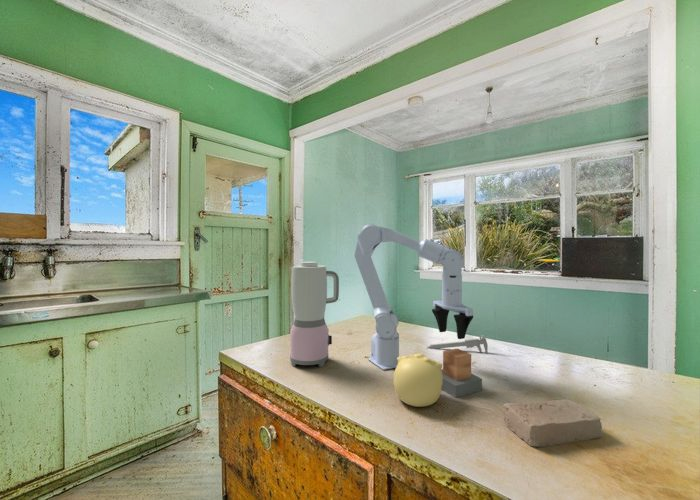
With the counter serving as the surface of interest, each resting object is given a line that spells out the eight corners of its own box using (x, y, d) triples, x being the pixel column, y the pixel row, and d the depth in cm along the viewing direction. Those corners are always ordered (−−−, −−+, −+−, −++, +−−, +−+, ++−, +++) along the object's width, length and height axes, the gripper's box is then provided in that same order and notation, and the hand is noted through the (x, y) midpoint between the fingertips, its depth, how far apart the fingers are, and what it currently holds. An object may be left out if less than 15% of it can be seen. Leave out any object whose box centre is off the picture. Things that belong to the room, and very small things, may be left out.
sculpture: (445, 393, 79) (445, 351, 78) (437, 417, 68) (438, 368, 67) (400, 385, 83) (400, 345, 83) (387, 406, 72) (387, 360, 72)
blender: (287, 369, 93) (286, 263, 93) (292, 355, 106) (291, 261, 105) (339, 368, 94) (339, 263, 94) (338, 354, 107) (338, 260, 106)
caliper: (486, 353, 108) (487, 335, 108) (487, 354, 107) (487, 336, 107) (426, 347, 113) (426, 330, 113) (426, 348, 112) (426, 331, 112)
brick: (567, 416, 69) (567, 395, 69) (605, 439, 60) (605, 415, 60) (500, 425, 66) (500, 403, 66) (531, 451, 57) (531, 426, 57)
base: (431, 382, 84) (431, 371, 84) (456, 376, 88) (456, 366, 88) (455, 397, 76) (455, 385, 76) (482, 390, 80) (482, 378, 80)
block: (442, 373, 84) (443, 351, 83) (457, 370, 86) (457, 348, 86) (456, 380, 79) (456, 357, 79) (471, 377, 81) (471, 354, 81)
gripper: (481, 292, 88) (480, 339, 88) (444, 286, 101) (444, 327, 102) (462, 294, 85) (462, 343, 85) (427, 287, 98) (427, 330, 98)
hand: (451, 335), depth 93 cm, fingers open, 7 cm apart
